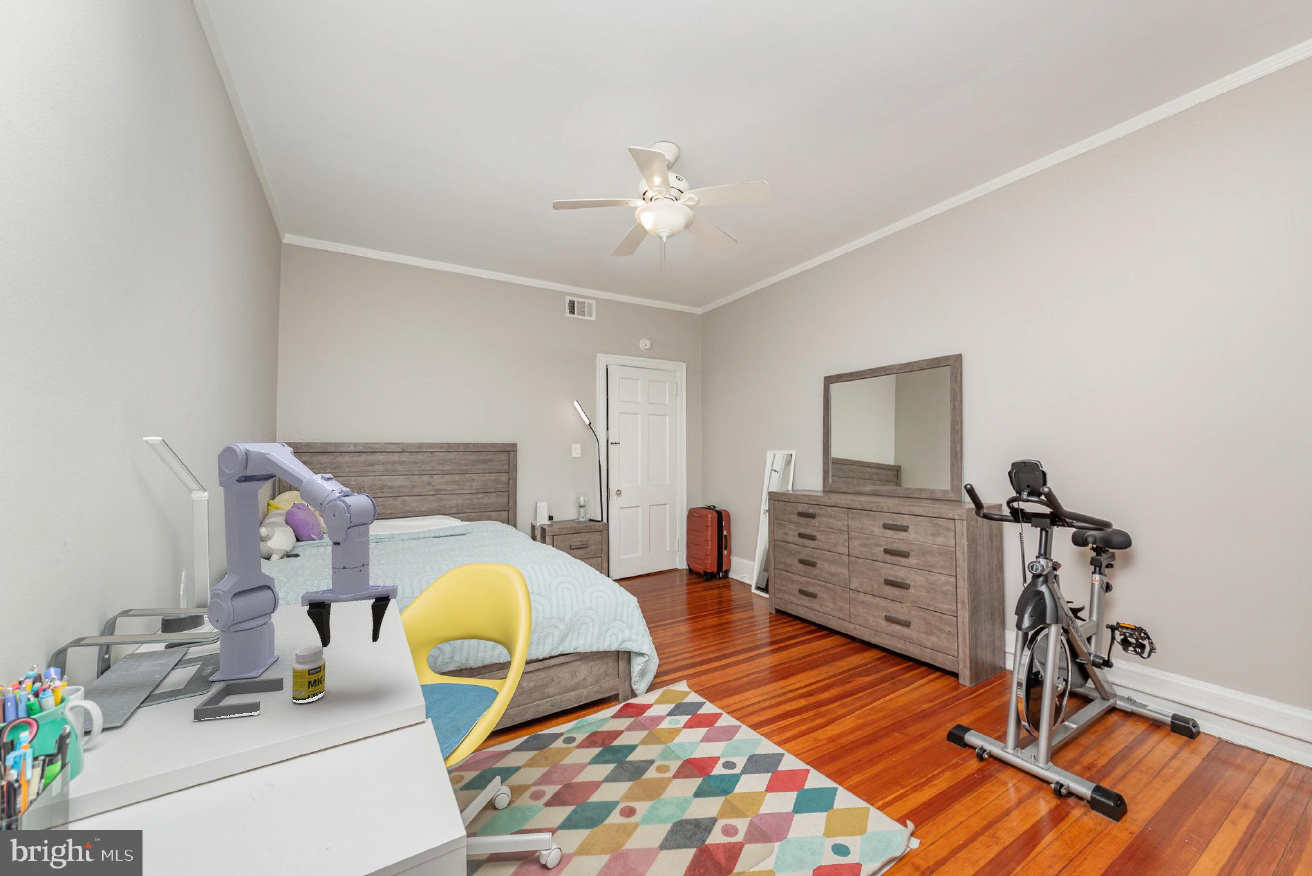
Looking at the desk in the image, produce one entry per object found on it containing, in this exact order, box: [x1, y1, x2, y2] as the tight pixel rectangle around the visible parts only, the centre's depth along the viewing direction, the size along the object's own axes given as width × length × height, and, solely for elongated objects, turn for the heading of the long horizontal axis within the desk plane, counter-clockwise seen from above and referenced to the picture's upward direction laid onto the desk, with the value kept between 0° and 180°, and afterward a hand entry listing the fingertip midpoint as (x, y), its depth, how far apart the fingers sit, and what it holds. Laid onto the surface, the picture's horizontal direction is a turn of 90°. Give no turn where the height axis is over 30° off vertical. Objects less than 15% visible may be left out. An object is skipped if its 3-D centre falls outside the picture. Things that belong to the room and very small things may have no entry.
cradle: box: [193, 677, 284, 721], centre depth 90 cm, size 9×9×2 cm
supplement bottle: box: [291, 645, 326, 701], centre depth 92 cm, size 5×5×8 cm
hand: (351, 642), depth 93 cm, fingers open, 7 cm apart
